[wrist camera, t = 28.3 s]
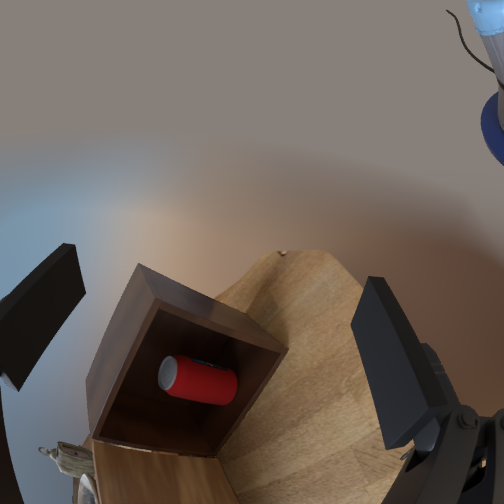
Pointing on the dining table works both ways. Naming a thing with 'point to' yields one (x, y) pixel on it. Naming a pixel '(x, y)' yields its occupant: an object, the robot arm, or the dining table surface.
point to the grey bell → (72, 459)
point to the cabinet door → (158, 478)
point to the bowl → (88, 490)
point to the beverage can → (197, 380)
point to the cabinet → (171, 344)
